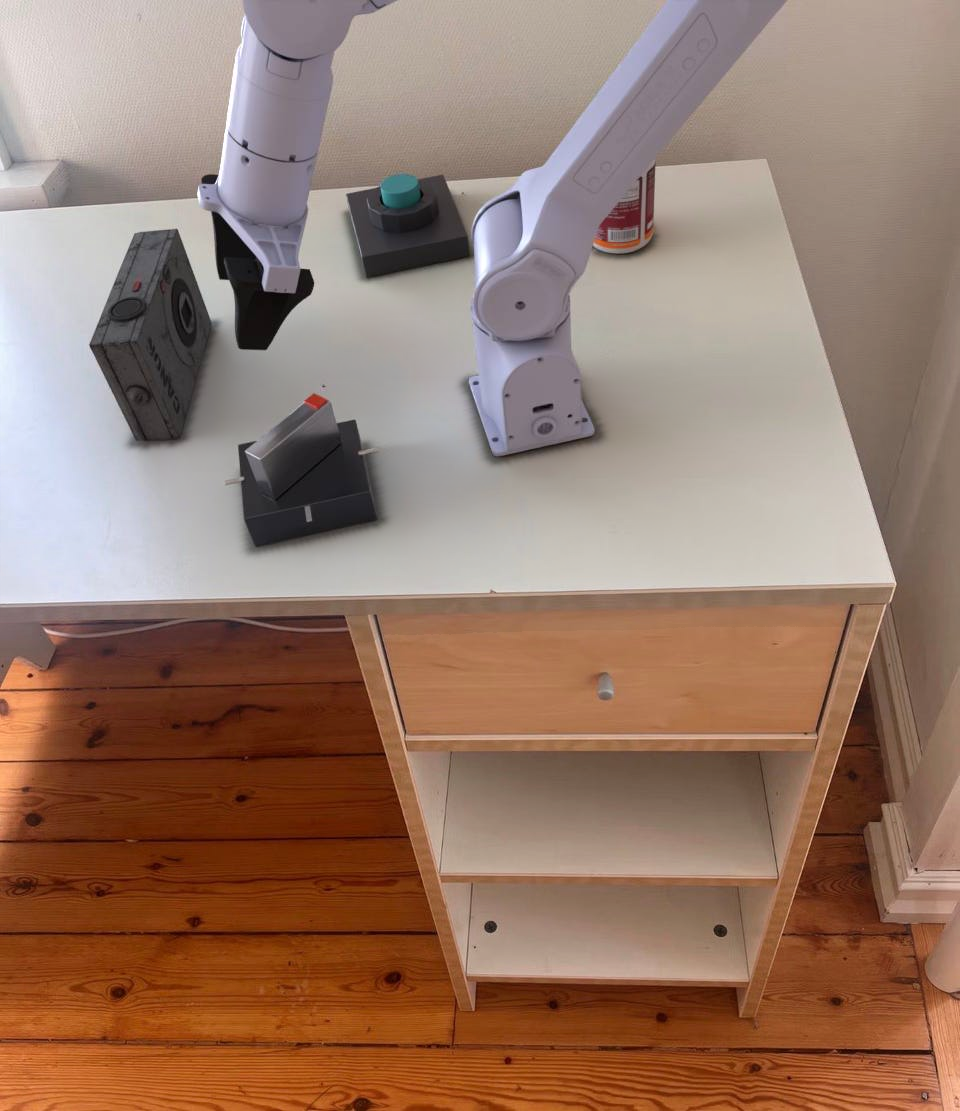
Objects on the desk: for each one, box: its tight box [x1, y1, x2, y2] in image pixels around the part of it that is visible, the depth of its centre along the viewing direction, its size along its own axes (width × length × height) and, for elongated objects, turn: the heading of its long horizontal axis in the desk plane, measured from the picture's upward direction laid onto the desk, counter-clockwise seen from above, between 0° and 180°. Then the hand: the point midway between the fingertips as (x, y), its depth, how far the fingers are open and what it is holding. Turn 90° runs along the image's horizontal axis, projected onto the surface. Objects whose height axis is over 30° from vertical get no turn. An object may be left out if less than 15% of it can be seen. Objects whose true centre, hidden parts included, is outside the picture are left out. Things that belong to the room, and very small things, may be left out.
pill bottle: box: [592, 157, 657, 254], centre depth 87 cm, size 6×6×11 cm
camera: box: [88, 228, 213, 442], centre depth 79 cm, size 16×4×10 cm, turn 0°
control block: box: [345, 174, 471, 278], centre depth 93 cm, size 12×10×4 cm
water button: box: [379, 173, 421, 209], centre depth 92 cm, size 4×4×2 cm
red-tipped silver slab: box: [245, 392, 342, 500], centre depth 69 cm, size 7×2×4 cm, turn 142°
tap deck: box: [224, 419, 378, 548], centre depth 71 cm, size 11×11×3 cm
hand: (241, 311), depth 70 cm, fingers open, 7 cm apart
